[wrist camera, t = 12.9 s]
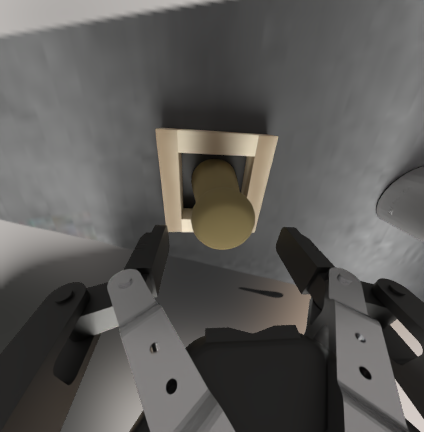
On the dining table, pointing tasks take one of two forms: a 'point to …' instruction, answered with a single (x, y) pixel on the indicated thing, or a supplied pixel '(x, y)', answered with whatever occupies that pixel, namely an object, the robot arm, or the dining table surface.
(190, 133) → the socket block
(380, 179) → the dining table surface
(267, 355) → the robot arm
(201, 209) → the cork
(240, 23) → the dining table surface
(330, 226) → the dining table surface
